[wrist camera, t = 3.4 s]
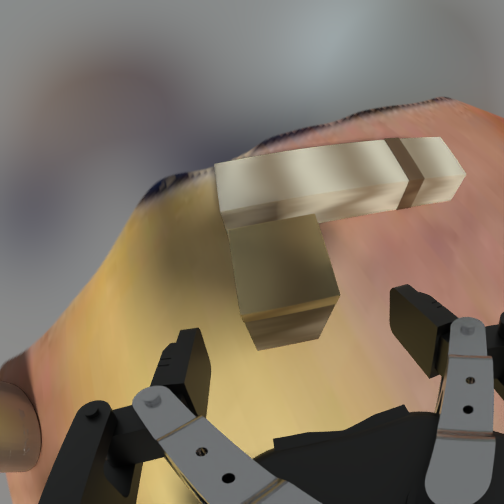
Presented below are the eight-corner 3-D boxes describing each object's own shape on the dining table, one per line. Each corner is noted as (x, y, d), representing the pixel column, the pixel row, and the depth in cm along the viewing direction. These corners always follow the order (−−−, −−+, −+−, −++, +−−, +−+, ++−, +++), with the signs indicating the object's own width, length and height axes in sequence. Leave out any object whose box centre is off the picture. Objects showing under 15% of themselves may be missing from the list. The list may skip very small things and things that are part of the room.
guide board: (229, 240, 25) (219, 211, 22) (222, 193, 28) (213, 162, 24) (451, 200, 25) (466, 173, 22) (428, 163, 28) (440, 135, 24)
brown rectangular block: (257, 351, 21) (240, 315, 13) (247, 294, 23) (227, 229, 15) (318, 338, 21) (340, 295, 13) (305, 282, 23) (315, 213, 15)
